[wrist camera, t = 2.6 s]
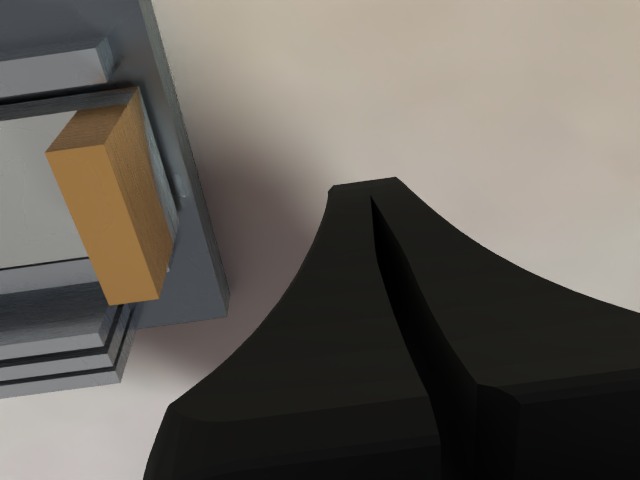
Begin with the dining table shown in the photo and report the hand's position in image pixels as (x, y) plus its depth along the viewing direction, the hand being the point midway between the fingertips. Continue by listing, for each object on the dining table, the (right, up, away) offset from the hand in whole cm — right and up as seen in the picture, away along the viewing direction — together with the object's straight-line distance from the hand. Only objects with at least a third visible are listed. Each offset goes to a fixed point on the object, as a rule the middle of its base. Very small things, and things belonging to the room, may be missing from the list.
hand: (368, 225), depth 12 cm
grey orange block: (-9, +1, +4) cm, 10 cm away
